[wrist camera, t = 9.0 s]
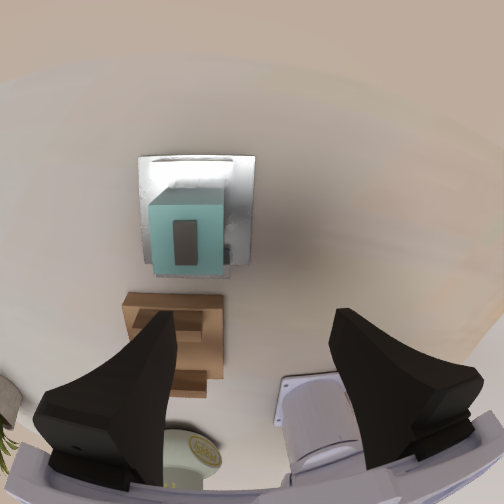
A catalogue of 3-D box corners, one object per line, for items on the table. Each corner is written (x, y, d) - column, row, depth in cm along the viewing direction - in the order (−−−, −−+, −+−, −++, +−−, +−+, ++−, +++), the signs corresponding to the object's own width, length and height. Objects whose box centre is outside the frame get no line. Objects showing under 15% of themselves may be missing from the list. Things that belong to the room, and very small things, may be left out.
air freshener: (228, 447, 33) (232, 507, 24) (184, 458, 34) (182, 511, 25) (179, 413, 29) (173, 485, 20) (133, 426, 30) (121, 487, 21)
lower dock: (248, 261, 22) (252, 281, 19) (146, 260, 21) (136, 279, 18) (254, 155, 19) (259, 159, 16) (140, 156, 18) (126, 160, 15)
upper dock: (223, 364, 26) (224, 399, 22) (143, 361, 25) (134, 394, 21) (222, 295, 23) (222, 329, 19) (128, 292, 22) (112, 324, 18)
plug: (223, 242, 21) (223, 278, 16) (168, 242, 20) (152, 278, 15) (224, 187, 19) (223, 207, 14) (166, 188, 19) (145, 207, 14)
